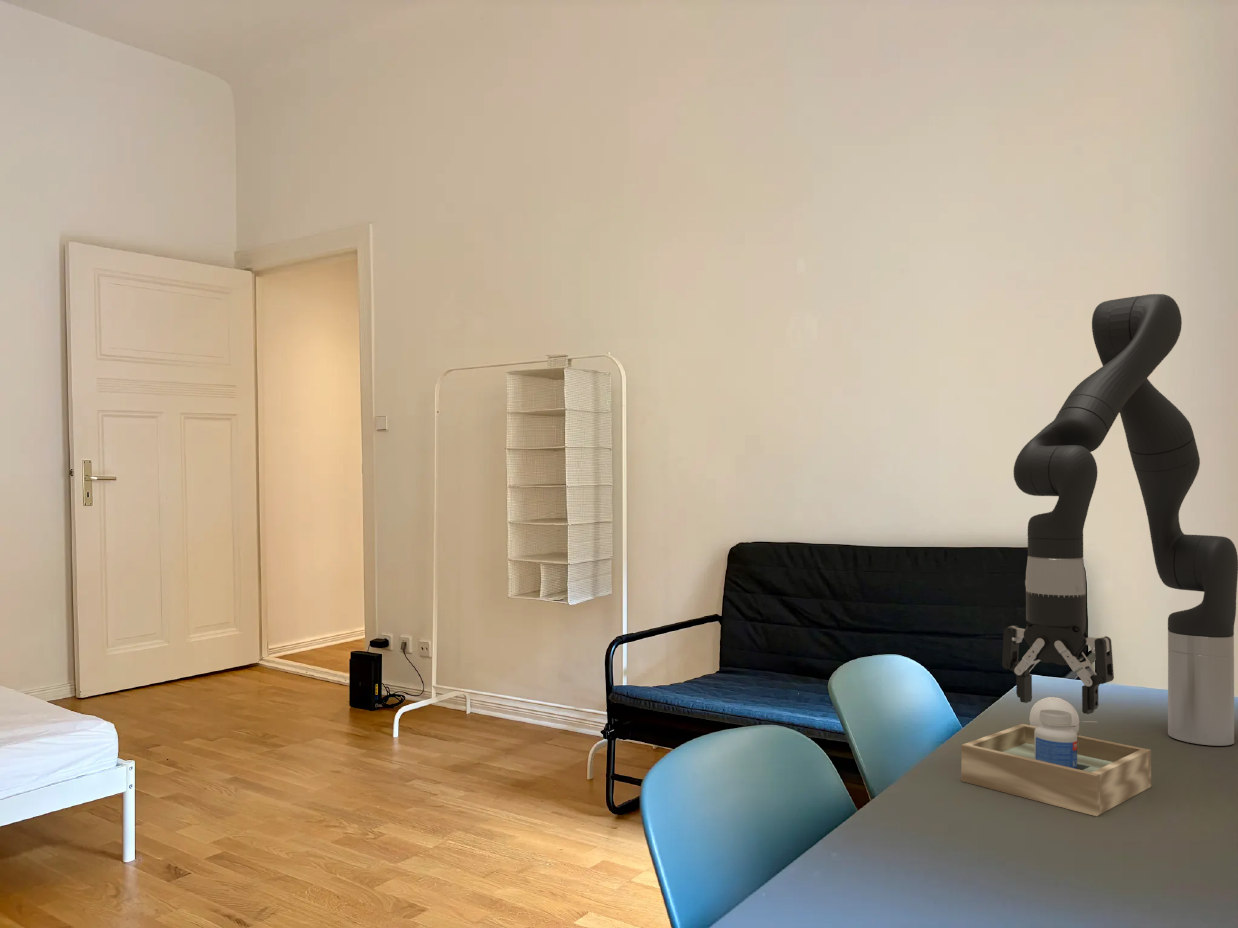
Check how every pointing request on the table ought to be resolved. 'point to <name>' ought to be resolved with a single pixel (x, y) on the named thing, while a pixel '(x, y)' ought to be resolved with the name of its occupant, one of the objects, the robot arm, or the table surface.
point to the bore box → (1057, 770)
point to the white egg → (1054, 704)
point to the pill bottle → (1056, 739)
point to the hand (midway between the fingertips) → (1056, 707)
